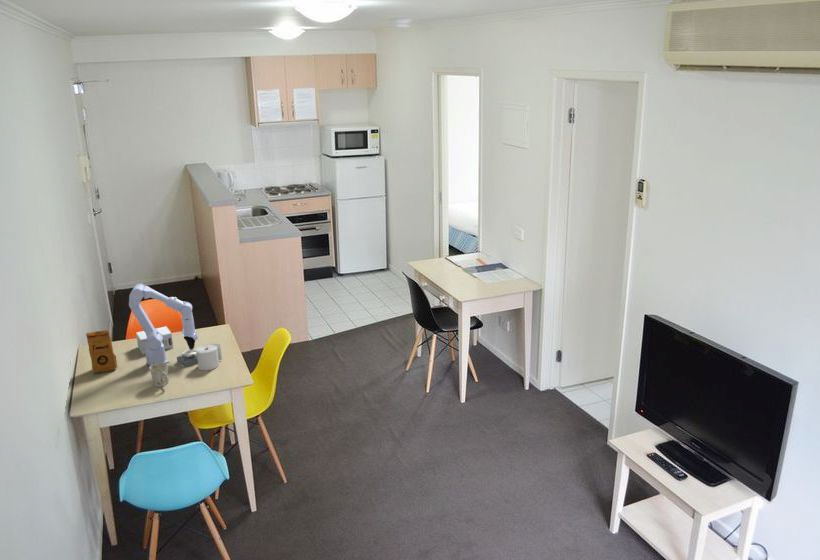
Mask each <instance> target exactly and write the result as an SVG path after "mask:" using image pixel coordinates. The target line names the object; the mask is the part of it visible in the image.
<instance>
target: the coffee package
mask: <svg viewBox="0 0 820 560" xmlns="http://www.w3.org/2000/svg"><path fill="white" fill-rule="evenodd" d="M85 335H86V341H87V344H88V352H89V356H90V360H91V369H92V372H93V374H95V373H102V372H111V371H116V370H117V367H118V361H117V356H116V354H115V352H114V348H113V347H114V346H113V343H112V340H111V335H110V332H109V330H108V329H106V330H97V331H91V332H86V334H85Z"/></svg>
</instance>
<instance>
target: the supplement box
mask: <svg viewBox="0 0 820 560" xmlns="http://www.w3.org/2000/svg"><path fill="white" fill-rule="evenodd" d="M154 328H155V327H154ZM155 329H157V330H158V332H159V333H161V334H162V335H163V341H162V343H163V344H164V349H165V350H170V349H174V342H173V334H172V332H171V330H170V329H169V328H168V327H167V325H165V326H161V327H156V328H155ZM135 335H136V341H137V347H138V349H139V351H140V352H141V354H142V355H146V354H145V351H146V350H148V349H149V348H150V347H149V343H148V340H147V337H146V333H145V332H144V330H142V331H137V332H135Z"/></svg>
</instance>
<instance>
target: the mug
mask: <svg viewBox="0 0 820 560" xmlns="http://www.w3.org/2000/svg"><path fill="white" fill-rule="evenodd" d="M149 372H150V375H151V378H152V382H153V383H154V386H155V387H156V388H162V387H165V386H167V385H168V384H169V381H170V380H169V377H168V363H155V364H153V365H151V366H150V365H149Z"/></svg>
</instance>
